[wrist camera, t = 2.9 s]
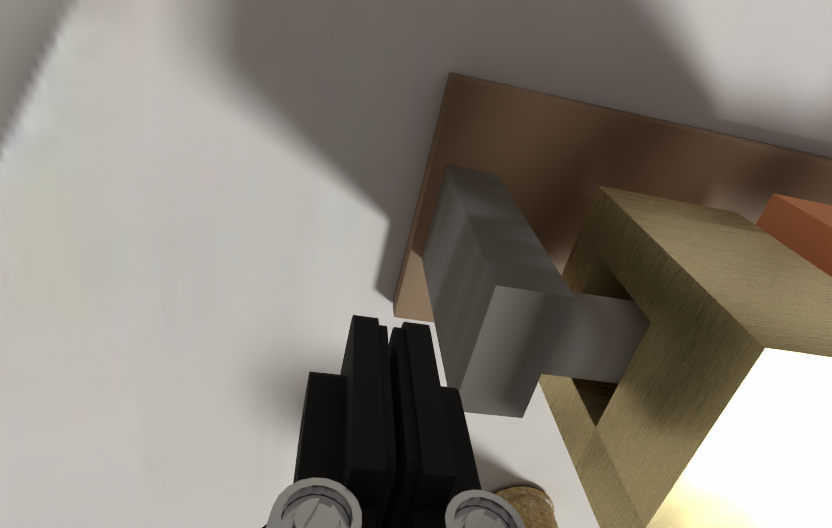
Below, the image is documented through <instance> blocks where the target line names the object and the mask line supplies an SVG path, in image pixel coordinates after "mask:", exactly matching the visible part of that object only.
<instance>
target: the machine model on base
mask: <svg viewBox="0 0 832 528" xmlns="http://www.w3.org/2000/svg"><path fill="white" fill-rule="evenodd" d="M598 186H604V187H609V188H614V189H619V190H624V191H629V192H634V193H640V194H645V195H650V196H655V197H660V198H665V199H670V200H676V201H681V202H686V203H691V204H696V205H701V206H706V207H712V208H717V209H722V210H727V211H732V212H737V213H739V214H740V215H742V216H743V217H744V218H746V219H747V220H749V221H750V222H752V223H753V224H756V223H757V221H758V219H759V217H760V216H761V214H762V212H763V211H764V209H765V207H766V205H767V204H768V202H769V200H770V198H771V197H772V195H773V194H778V195H783V196H788V197H793V198H798V199H803V200H808V201H813V202H817V203H822V204H827V205H832V158H828V157H824V156H819V155H815V154H811V153H806V152H802V151H797V150H793V149H788V148H784V147H779V146H775V145H770V144H766V143H762V142H757V141H753V140H748V139H744V138H739V137H735V136H730V135H726V134H722V133H717V132H713V131H708V130H704V129H699V128H695V127H690V126H686V125H681V124H677V123H673V122H668V121H664V120H659V119H655V118H650V117H646V116H641V115H637V114H633V113H628V112H624V111H619V110H615V109H610V108H606V107H601V106H597V105H592V104H588V103H584V102H579V101H575V100H570V99H566V98H561V97H557V96H552V95H548V94H543V93H539V92H535V91H530V90H526V89H521V88H517V87H512V86H508V85H503V84H499V83H495V82H490V81H486V80H481V79H477V78H472V77H468V76H463V75H459V74H454V73H449V77H448V81H447V85H446V89H445V93H444V97H443V102H442V106H441V110H440V114H439V118H438V122H437V126H436V130H435V134H434V138H433V142H432V146H431V150H430V154H429V159H428V163H427V167H426V171H425V175H424V179H423V183H422V187H421V191H420V195H419V199H418V203H417V207H416V211H415V216H414V220H413V224H412V228H411V232H410V236H409V240H408V244H407V248H406V252H405V256H404V260H403V264H402V268H401V273H400V277H399V281H398V285H397V289H396V293H395V297H394V301H393V311H394V317H398V318H405V319H413V320H420V321H428V322H435V327H436V332H437V337H438V342H439V347H440V352H441V357H442V362H443V367H444V371H445V376H446V381H447V386H448V387H451V388H457V390H458V391H459V394H460V397H461V401H462V406H463V410H464V412H469V413H479V414H488V415H498V416H508V417H518V418H523V416H524V413H525V411H526V409H527V406H528V404H529V402H530V399H531V397H532V395H533V392H534V390H535V388H536V386H537V383H538V381H539V379H540V376H541V374H544V375H553V376H561V377H569V378H578V379H586V380H594V381H603V382H611V383H620V381H621V379H622V377H623V375H624V373H625V371H626V369H627V367H628V366H629V364H630V362H631V360H632V358H633V356H634V354H635V352H636V350H637V348H638V347H639V345H640V343H641V341H642V339H643V337H644V335H645V333H646V331H647V330H648V328H649V326H650V324H651V321H650V320H649V319H648V317H647V316H646V315H645V313H644V312H643V311H642V310H641V308H640V307H639V306H638V305H637V303H636V302H635V301H630V300H623V299H617V298H610V297H604V296H597V295H591V294H584V293H577V292H571V290H570V289H569V287H568V286H567V284H566V282H565V281H564V279H563V278H562V276H561V275H562V272H563V270H564V267H565V265H566V262H567V260H568V258H569V255H570V253H571V250H572V248H573V245H574V243H575V241H576V238H577V236H578V233H579V231H580V228H581V226H582V223H583V221H584V219H585V216H586V214H587V211H588V209H589V206H590V204H591V202H592V199H593V197H594V194H595V192H596V189H597V187H598Z"/></svg>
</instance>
